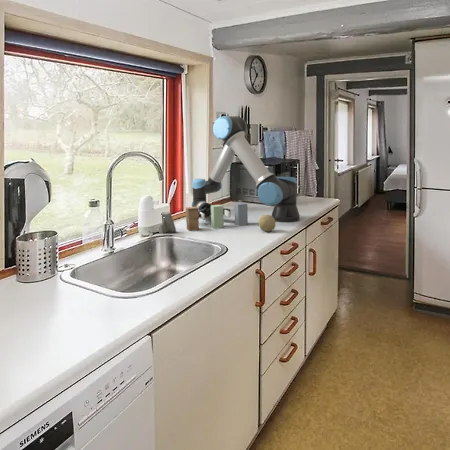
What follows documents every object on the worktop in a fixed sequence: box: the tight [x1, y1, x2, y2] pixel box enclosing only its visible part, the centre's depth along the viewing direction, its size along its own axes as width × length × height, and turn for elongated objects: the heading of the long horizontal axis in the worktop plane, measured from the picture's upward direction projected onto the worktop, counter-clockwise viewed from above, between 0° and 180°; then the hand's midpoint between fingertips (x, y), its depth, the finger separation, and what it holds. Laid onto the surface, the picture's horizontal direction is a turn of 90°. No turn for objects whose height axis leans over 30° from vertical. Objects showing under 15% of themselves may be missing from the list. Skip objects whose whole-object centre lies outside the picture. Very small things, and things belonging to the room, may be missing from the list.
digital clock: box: [158, 210, 177, 234], centre depth 217 cm, size 16×9×11 cm, turn 46°
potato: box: [258, 214, 276, 232], centre depth 211 cm, size 8×8×8 cm
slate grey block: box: [234, 202, 249, 227], centre depth 228 cm, size 5×5×11 cm
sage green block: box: [210, 204, 225, 229], centre depth 223 cm, size 5×5×11 cm
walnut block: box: [185, 206, 200, 232], centre depth 219 cm, size 5×5×11 cm
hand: (216, 215), depth 223 cm, fingers open, 13 cm apart
